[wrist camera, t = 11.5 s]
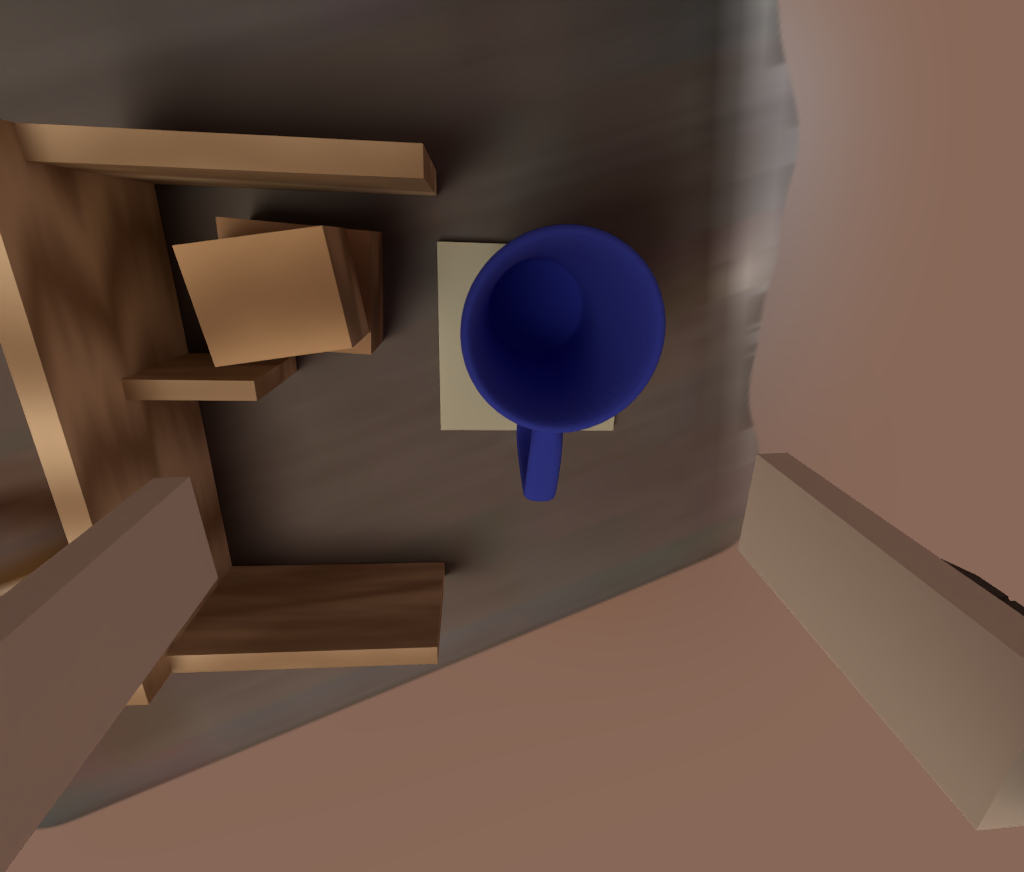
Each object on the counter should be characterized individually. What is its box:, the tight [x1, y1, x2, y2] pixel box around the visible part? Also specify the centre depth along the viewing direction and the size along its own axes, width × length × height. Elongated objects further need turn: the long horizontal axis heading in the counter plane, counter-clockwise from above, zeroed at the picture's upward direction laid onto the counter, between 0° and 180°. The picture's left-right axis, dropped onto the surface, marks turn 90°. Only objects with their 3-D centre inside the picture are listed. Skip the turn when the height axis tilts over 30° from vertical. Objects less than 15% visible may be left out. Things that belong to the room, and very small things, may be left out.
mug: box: [460, 224, 666, 501], centre depth 25 cm, size 8×12×10 cm
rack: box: [0, 119, 445, 705], centre depth 26 cm, size 26×16×10 cm, turn 178°
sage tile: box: [437, 242, 615, 430], centre depth 30 cm, size 11×11×1 cm
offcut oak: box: [172, 226, 369, 367], centre depth 23 cm, size 5×6×4 cm
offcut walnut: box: [216, 217, 383, 354], centre depth 26 cm, size 6×7×4 cm
